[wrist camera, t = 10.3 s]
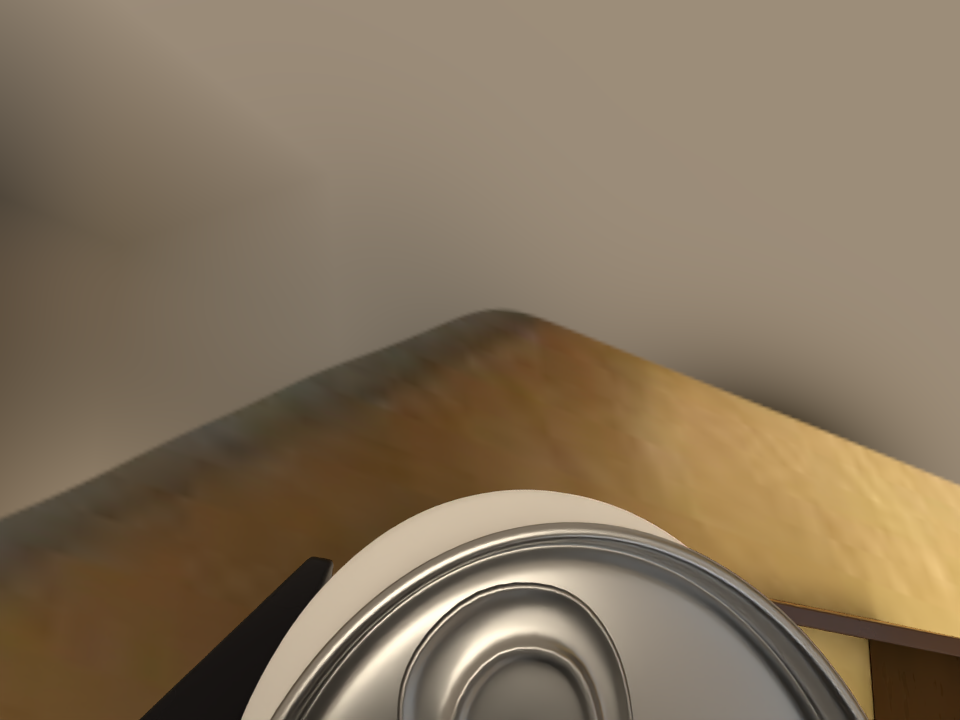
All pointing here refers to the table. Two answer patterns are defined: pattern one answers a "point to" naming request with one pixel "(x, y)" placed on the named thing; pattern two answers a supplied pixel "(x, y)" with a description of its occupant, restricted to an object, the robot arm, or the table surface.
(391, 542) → the can
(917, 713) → the tray
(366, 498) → the table surface
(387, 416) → the table surface
